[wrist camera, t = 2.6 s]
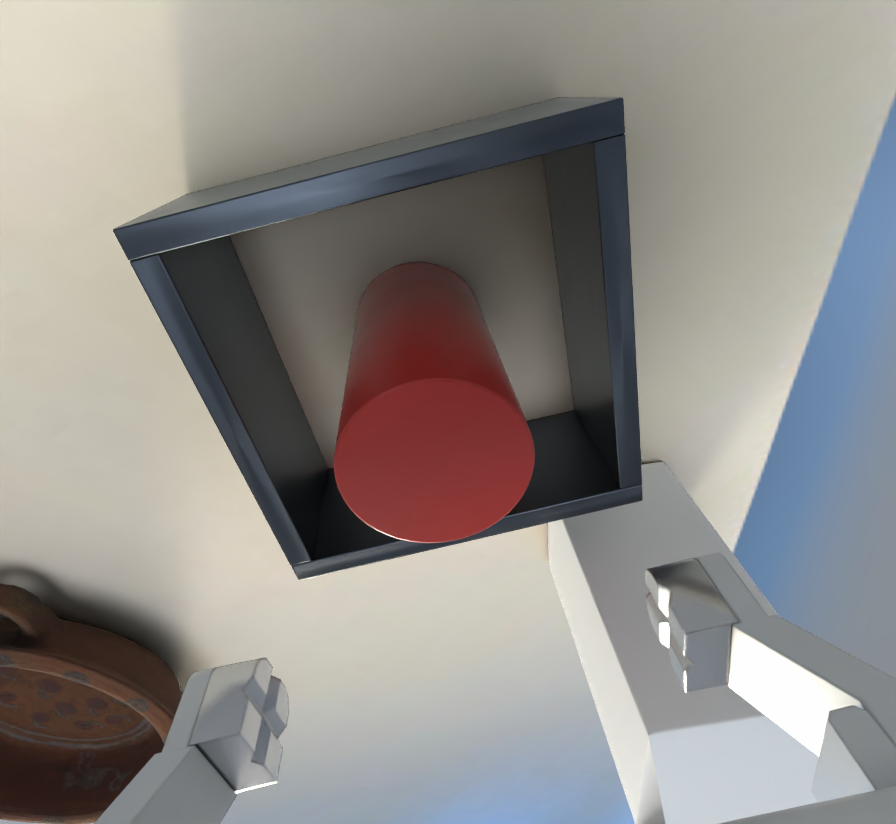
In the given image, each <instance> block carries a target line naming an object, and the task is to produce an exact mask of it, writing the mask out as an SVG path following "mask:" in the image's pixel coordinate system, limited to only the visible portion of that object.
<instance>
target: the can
mask: <svg viewBox="0 0 896 824" xmlns="http://www.w3.org/2000/svg"><path fill="white" fill-rule="evenodd" d="M534 461H535V450H534V442H533V438H532V434H531V432H530V429H529V427H528V424H527V422H526V420H525V417H524V415H523V412H522V410H521V408H520V405H519V403H518V400H517V398H516V395H515V393H514V391H513V388H512V386H511V383H510V381H509V379H508V376H507V374H506V371H505V369H504V367H503V364H502V362H501V359H500V357H499V354H498V352H497V350H496V347H495V345H494V342H493V340H492V338H491V335H490V333H489V330H488V328H487V326H486V323H485V321H484V318H483V316H482V313H481V311H480V309H479V306H478V304H477V301H476V299H475V297H474V295H473V293H472V291H471V290H470V288H469V287H468V286H467V284H466V283H465V282H464V281H463V280H462V279H461V278H460V277H459V276H457V275H456V274H454V273H453V272H452V271H450V270H448V269H446V268H444V267H441V266H438V265H435V264H430V263H421V262H417V263H407V264H402V265H399V266H396V267H393V268H391V269H389V270H387V271H385V272H384V273H382V274H381V275H379V276H378V277H377V278H376V279H375V280H374V281H373V282H372V283H371V284H370V285H369V286H368V288H367V289H366V291H365V292H364V294H363V296H362V298H361V300H360V303H359V306H358V310H357V316H356V322H355V329H354V335H353V341H352V348H351V354H350V360H349V366H348V373H347V379H346V385H345V392H344V398H343V404H342V410H341V417H340V423H339V429H338V436H337V442H336V448H335V454H334V473H335V480H336V483H337V486H338V489H339V491H340V493H341V495H342V497H343V499H344V501H345V502H346V504H347V505H348V506H349V508H350V509H351V510H352V511H353V512H354V513H355V515H356V516H357V517H358V518H360V519H361V520H362V521H363V522H365V523H366V524H367V525H369V526H370V527H372V528H374V529H375V530H377V531H379V532H381V533H383V534H386V535H388V536H391V537H394V538H397V539H401V540H405V541H410V542H419V543H439V542H448V541H454V540H458V539H462V538H465V537H469V536H471V535H474V534H476V533H479V532H481V531H483V530H485V529H487V528H489V527H490V526H492V525H493V524H495V523H496V522H498V521H500V520H501V519H502V518H503V517H504V516H506V515H507V514H508V513H509V512H510V511H511V510H512V509H513V508H514V507H515V506H516V504H517V503H518V502H519V500H520V499H521V498H522V496H523V494H524V493H525V491H526V489H527V487H528V485H529V482H530V480H531V477H532V473H533V469H534Z"/></svg>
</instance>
